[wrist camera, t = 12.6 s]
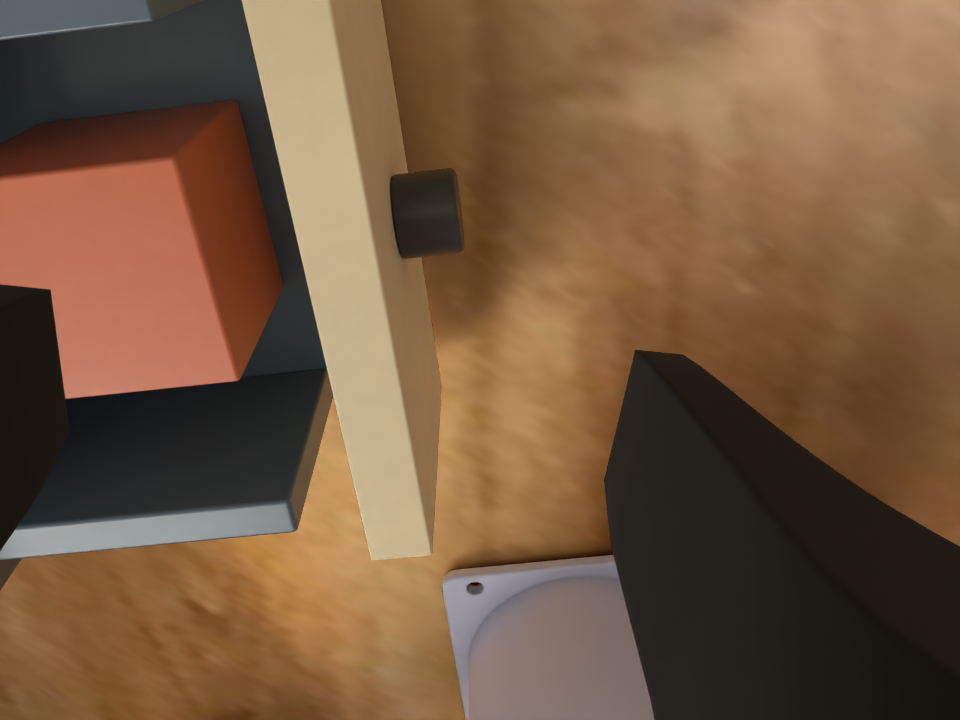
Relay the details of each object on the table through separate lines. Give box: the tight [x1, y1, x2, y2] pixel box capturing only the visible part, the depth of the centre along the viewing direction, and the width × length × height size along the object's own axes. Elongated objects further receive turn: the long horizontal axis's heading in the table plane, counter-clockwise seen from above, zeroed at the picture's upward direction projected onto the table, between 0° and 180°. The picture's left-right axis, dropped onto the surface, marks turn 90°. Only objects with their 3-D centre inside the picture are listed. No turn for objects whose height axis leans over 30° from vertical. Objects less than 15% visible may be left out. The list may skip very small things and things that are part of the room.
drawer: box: [0, 0, 464, 560], centre depth 16 cm, size 14×11×6 cm
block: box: [0, 100, 283, 399], centre depth 16 cm, size 4×4×4 cm
